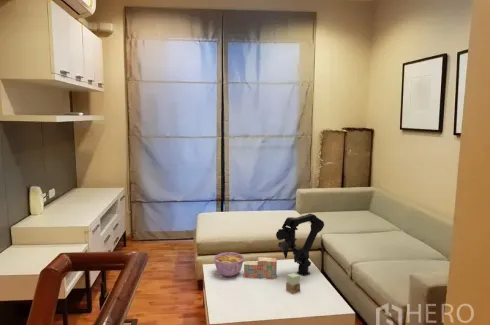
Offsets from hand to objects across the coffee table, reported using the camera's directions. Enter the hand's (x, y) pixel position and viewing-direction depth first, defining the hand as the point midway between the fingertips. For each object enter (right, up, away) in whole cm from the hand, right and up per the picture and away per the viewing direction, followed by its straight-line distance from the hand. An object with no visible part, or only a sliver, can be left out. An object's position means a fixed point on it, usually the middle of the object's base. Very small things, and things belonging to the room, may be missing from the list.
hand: (290, 260), depth 249 cm
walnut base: (-1, -14, -18) cm, 23 cm away
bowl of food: (-41, -11, +7) cm, 43 cm away
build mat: (-1, -15, -19) cm, 24 cm away
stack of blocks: (-20, -12, +3) cm, 23 cm away
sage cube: (-1, -9, -19) cm, 21 cm away
